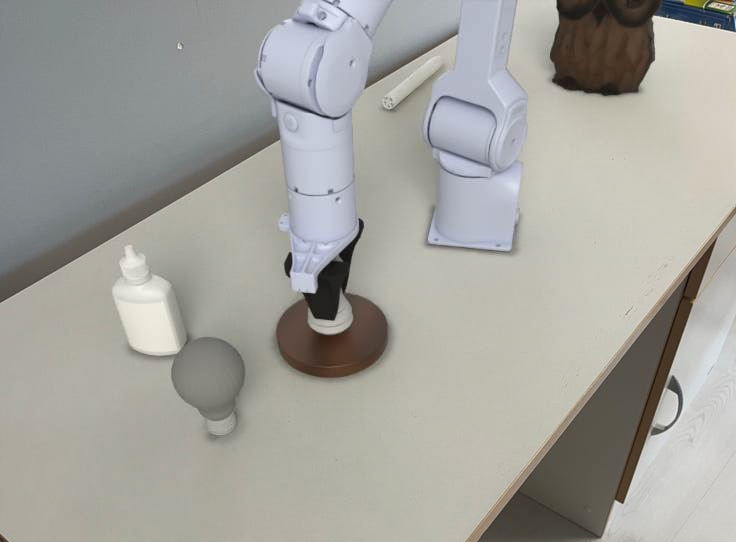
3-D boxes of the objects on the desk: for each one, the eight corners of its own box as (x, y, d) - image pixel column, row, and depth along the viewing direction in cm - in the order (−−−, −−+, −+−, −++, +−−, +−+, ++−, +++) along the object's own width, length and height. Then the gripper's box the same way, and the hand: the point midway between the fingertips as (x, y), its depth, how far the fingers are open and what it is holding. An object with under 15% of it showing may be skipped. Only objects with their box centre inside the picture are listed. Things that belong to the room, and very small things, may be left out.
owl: (649, 94, 106) (688, -56, 92) (570, 106, 104) (598, -45, 90) (608, 61, 115) (639, -81, 101) (535, 71, 113) (555, -72, 99)
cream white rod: (436, 62, 117) (437, 48, 115) (447, 65, 116) (448, 50, 115) (381, 108, 106) (381, 92, 105) (394, 111, 106) (394, 95, 104)
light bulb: (191, 405, 66) (167, 324, 59) (256, 399, 66) (240, 318, 59) (186, 456, 62) (160, 377, 55) (255, 450, 62) (238, 370, 55)
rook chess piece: (348, 339, 68) (344, 273, 62) (302, 334, 69) (294, 268, 63) (357, 309, 71) (354, 243, 66) (313, 304, 72) (307, 239, 66)
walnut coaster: (396, 308, 74) (396, 297, 73) (376, 385, 67) (375, 374, 66) (294, 297, 76) (293, 286, 75) (264, 370, 69) (261, 359, 68)
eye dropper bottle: (160, 369, 69) (128, 271, 61) (124, 345, 72) (89, 248, 64) (194, 344, 72) (168, 246, 63) (158, 321, 74) (128, 225, 66)
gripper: (296, 131, 64) (309, 253, 74) (245, 223, 55) (267, 350, 64) (373, 137, 63) (376, 260, 73) (335, 231, 53) (344, 360, 63)
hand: (330, 303), depth 68 cm, fingers closed on rook chess piece, 3 cm apart
